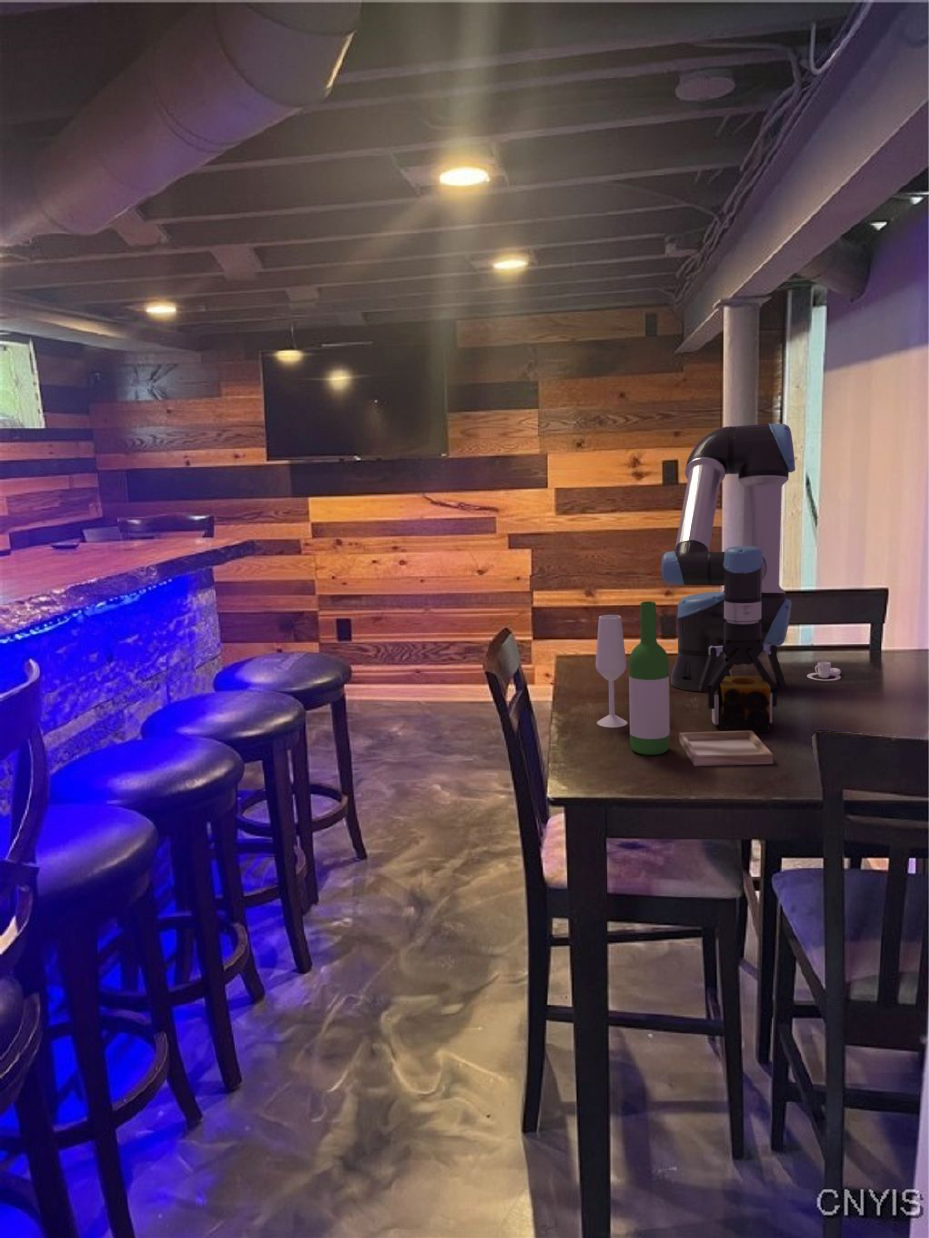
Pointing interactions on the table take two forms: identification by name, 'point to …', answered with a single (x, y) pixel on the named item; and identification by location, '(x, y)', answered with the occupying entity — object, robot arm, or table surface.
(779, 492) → the robot arm
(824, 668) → the teacup and saucer
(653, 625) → the wine bottle
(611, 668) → the champagne flute
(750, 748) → the slot frame
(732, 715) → the candle
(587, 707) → the table surface
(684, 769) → the table surface
